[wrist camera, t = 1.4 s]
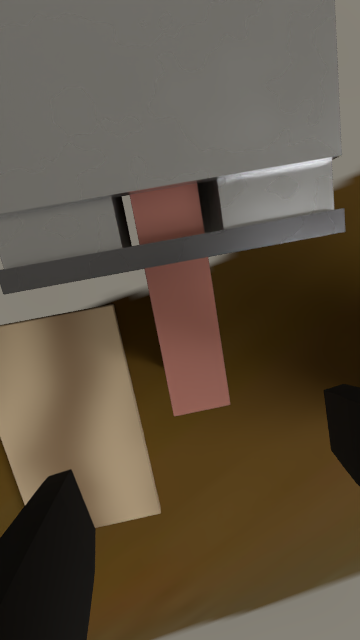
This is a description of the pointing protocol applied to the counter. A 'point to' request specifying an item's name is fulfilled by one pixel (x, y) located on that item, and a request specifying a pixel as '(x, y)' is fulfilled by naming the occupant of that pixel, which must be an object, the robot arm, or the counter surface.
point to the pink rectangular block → (183, 302)
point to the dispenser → (162, 129)
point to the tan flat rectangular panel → (75, 412)
